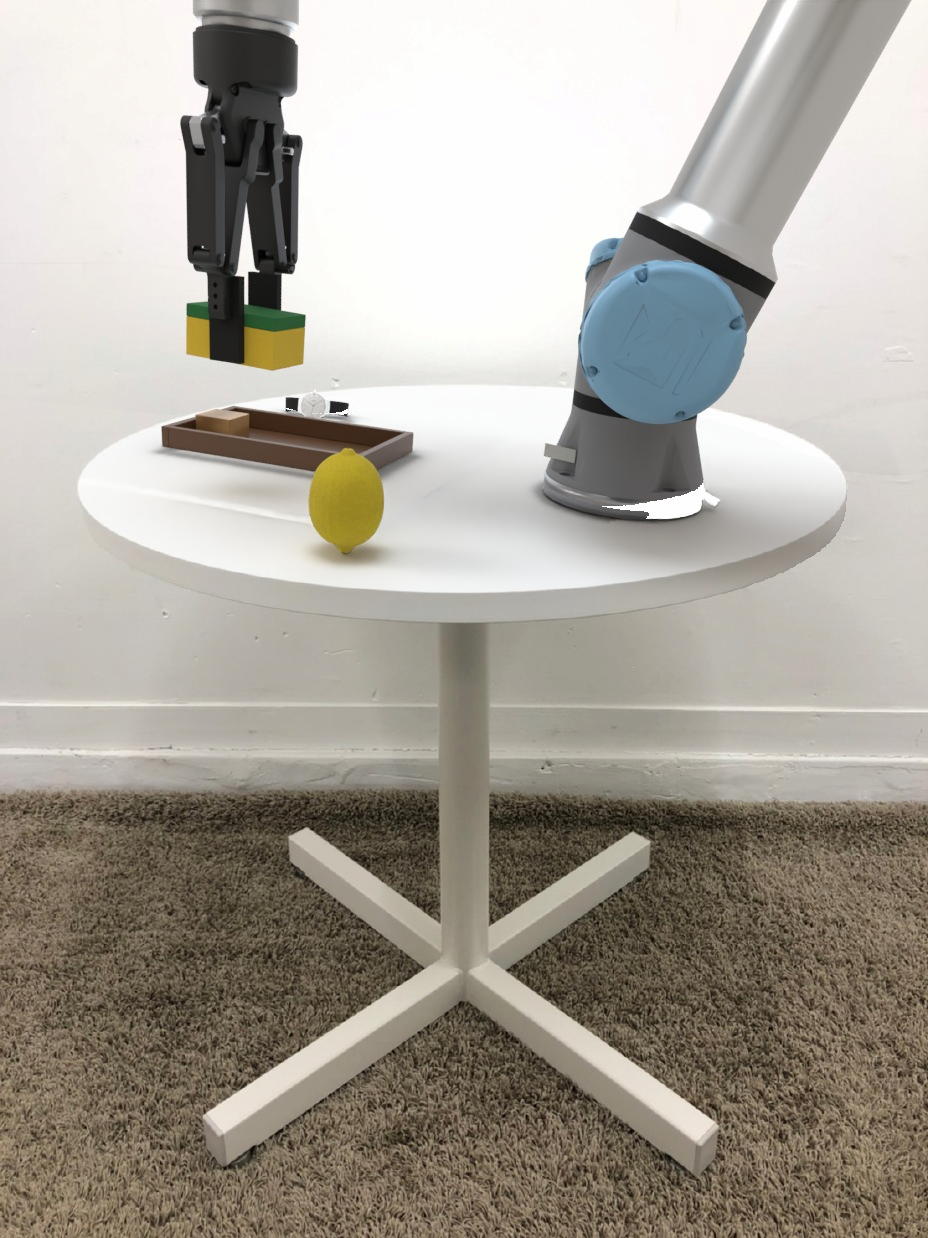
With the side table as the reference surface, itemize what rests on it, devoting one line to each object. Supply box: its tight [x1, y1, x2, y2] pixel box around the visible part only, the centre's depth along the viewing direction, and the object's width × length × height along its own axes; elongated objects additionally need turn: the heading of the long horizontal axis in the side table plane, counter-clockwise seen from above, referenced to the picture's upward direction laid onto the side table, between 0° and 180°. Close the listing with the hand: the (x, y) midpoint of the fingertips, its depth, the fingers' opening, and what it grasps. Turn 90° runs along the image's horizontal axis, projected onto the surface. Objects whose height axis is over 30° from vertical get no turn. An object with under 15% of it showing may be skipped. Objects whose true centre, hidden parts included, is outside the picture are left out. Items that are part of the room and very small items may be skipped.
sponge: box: [185, 300, 307, 372], centre depth 79 cm, size 5×8×4 cm, turn 70°
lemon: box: [308, 448, 385, 554], centre depth 71 cm, size 6×6×8 cm
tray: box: [161, 405, 414, 473], centre depth 99 cm, size 22×14×3 cm, turn 72°
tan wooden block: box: [194, 408, 249, 438], centre depth 101 cm, size 4×4×2 cm
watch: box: [285, 389, 350, 419], centre depth 117 cm, size 8×5×4 cm, turn 85°
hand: (246, 357), depth 79 cm, fingers closed on sponge, 5 cm apart
